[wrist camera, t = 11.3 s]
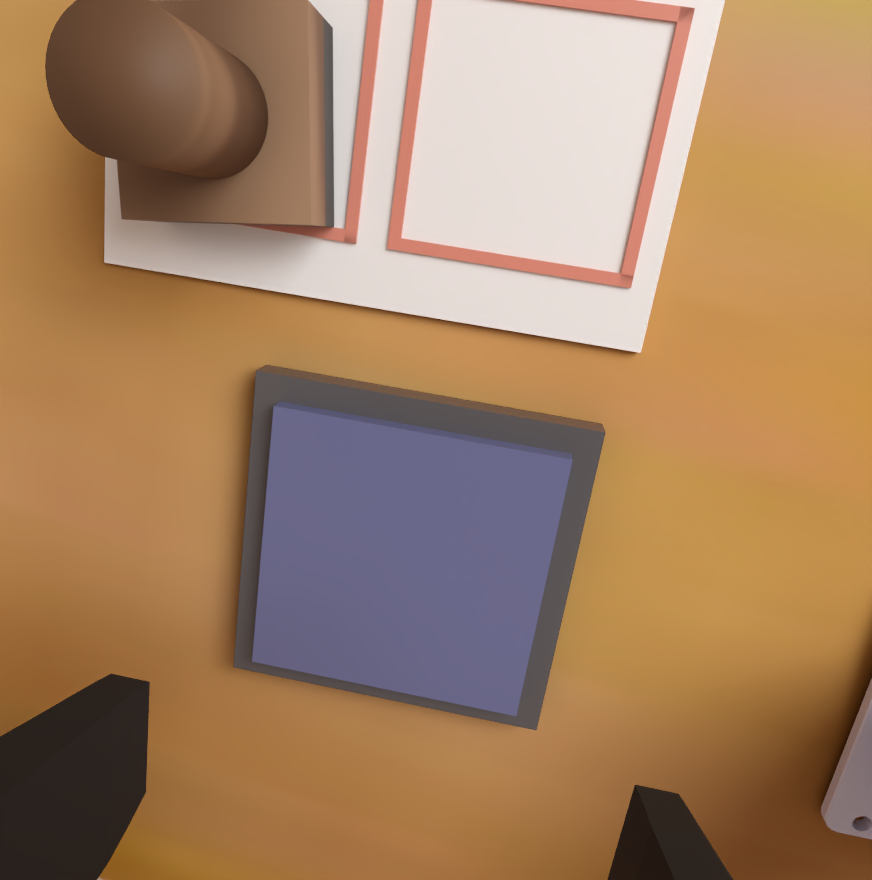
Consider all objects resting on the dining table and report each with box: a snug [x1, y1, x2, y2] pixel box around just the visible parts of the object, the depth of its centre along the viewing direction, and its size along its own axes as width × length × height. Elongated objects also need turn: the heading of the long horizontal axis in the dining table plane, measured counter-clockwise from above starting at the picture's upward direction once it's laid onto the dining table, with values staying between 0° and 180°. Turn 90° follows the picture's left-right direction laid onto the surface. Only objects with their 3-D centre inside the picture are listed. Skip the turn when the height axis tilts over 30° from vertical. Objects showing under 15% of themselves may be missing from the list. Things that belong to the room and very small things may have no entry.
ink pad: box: [234, 365, 605, 730], centre depth 20 cm, size 9×9×1 cm
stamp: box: [45, 0, 334, 227], centre depth 15 cm, size 4×4×6 cm
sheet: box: [104, 0, 725, 353], centre depth 17 cm, size 14×9×1 cm, turn 81°
